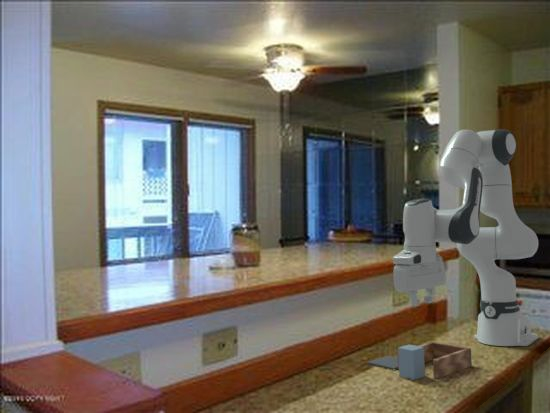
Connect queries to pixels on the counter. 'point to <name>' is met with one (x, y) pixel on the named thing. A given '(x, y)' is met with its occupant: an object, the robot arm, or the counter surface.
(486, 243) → the robot arm
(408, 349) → the block
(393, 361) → the pad
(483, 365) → the counter surface
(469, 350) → the frame
